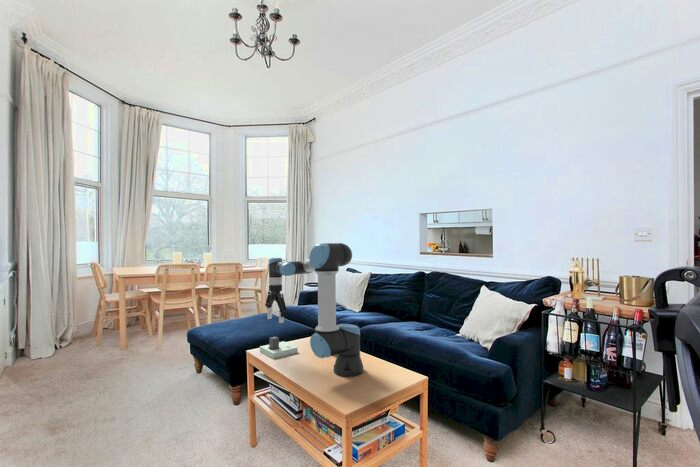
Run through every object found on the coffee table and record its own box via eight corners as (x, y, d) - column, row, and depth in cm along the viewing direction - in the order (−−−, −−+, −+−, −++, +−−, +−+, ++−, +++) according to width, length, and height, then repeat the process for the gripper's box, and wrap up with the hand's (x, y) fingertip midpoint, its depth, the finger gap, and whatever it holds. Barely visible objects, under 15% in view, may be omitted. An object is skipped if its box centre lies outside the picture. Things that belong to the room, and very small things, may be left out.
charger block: (278, 353, 206) (278, 337, 206) (272, 354, 203) (272, 338, 203) (275, 351, 209) (275, 336, 209) (269, 353, 206) (269, 337, 206)
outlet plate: (297, 352, 207) (297, 347, 207) (273, 358, 196) (273, 353, 197) (283, 346, 219) (283, 341, 219) (259, 351, 209) (259, 346, 209)
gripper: (292, 285, 199) (292, 323, 199) (270, 281, 218) (270, 316, 218) (280, 286, 194) (280, 325, 194) (259, 282, 213) (259, 318, 213)
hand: (275, 320), depth 206 cm, fingers open, 13 cm apart
